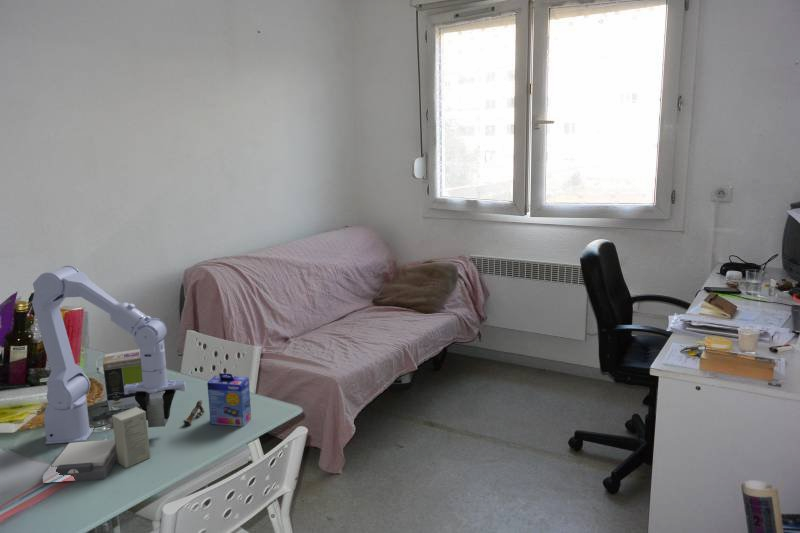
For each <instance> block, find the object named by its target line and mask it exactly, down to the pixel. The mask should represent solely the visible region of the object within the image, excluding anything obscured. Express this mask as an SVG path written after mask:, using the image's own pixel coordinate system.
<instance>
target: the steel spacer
mask: <svg viewBox="0 0 800 533" xmlns="http://www.w3.org/2000/svg"><path fill="white" fill-rule="evenodd" d="M146 406H147V418H148V420H147V428H162V427H165V426H166V425H167V423H168V421H169V418H168V419H165V408H164V402H163V398H156V399H150V400H149V402H148V404H147V405H146Z"/></svg>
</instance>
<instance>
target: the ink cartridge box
mask: <svg viewBox="0 0 800 533" xmlns="http://www.w3.org/2000/svg"><path fill="white" fill-rule="evenodd" d="M206 385H207V395H208V409H209V410H208V411H209V423H210V425H218V426H230V427H231V426H233V427H245V426H246V425H247V424H248V423H249V421H251V419H252V408H251V407H252V406H251V395H250V394H251V392H250V379H249V377H245V376H233V374H232V373H218V375H214V376H213V377H212V378H211V379H209V380H208V381H207V384H206Z"/></svg>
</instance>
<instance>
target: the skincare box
mask: <svg viewBox="0 0 800 533" xmlns="http://www.w3.org/2000/svg"><path fill="white" fill-rule="evenodd" d="M111 417H112V425H113V434H114V439H115V444H116V452H117V460H116V462H117V463H118V464H120V465H121V466H122V467H124V468H129V467H131V466H134V465H135V464H138V463H141V462H143V461H145V460H148V459H149V458H151V452H150V451H151V450H150V442H149V434H148V420H146V411H144V410H142V408H141V407H133V408H128V409H126V410H123V411H120V412H118V413H115V414H112V415H111Z"/></svg>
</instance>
